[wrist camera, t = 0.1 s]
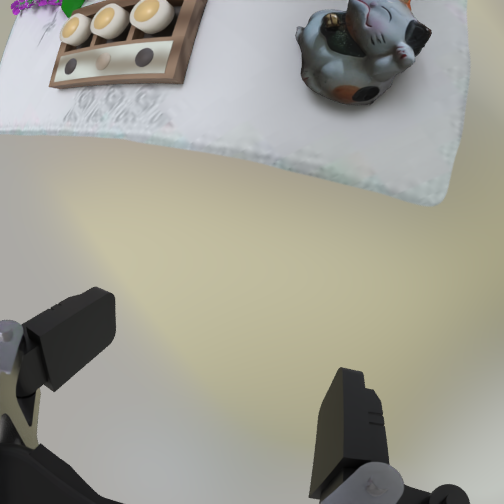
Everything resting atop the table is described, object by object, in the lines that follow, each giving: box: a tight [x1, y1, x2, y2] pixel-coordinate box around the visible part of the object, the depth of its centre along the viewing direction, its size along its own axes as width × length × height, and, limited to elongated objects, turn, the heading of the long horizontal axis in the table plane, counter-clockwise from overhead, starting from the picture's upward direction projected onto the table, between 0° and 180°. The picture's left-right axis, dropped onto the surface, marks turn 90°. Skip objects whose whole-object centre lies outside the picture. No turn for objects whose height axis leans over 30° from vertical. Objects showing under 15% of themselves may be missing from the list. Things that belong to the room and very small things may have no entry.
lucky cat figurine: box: [295, 0, 432, 105], centre depth 24 cm, size 15×12×14 cm
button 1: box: [60, 13, 92, 46], centre depth 31 cm, size 6×6×3 cm
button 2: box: [130, 0, 175, 34], centre depth 29 cm, size 6×6×3 cm
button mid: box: [90, 4, 130, 39], centre depth 30 cm, size 6×6×3 cm
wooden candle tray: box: [49, 0, 207, 89], centre depth 33 cm, size 16×27×3 cm, turn 78°
